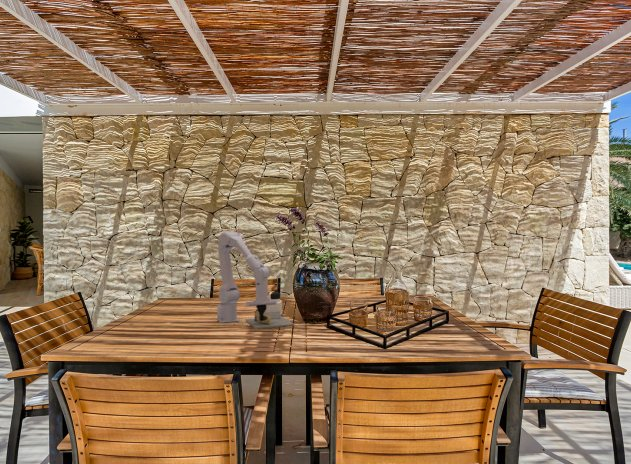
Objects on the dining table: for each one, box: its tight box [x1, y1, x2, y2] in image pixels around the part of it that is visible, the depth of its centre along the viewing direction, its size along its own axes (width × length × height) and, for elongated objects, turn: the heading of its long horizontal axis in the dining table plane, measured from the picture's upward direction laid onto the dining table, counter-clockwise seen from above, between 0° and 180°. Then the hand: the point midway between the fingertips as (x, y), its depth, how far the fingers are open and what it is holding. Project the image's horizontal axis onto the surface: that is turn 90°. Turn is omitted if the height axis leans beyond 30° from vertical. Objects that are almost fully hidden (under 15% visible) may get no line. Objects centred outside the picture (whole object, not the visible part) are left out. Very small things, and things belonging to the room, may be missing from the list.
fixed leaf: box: [254, 308, 281, 321], centre depth 230 cm, size 13×3×5 cm, turn 112°
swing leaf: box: [254, 310, 271, 324], centre depth 224 cm, size 3×13×4 cm, turn 41°
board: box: [245, 315, 295, 330], centre depth 226 cm, size 19×19×1 cm
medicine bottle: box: [266, 291, 283, 316], centre depth 246 cm, size 7×7×12 cm
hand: (261, 320), depth 221 cm, fingers closed, pressing on swing leaf
